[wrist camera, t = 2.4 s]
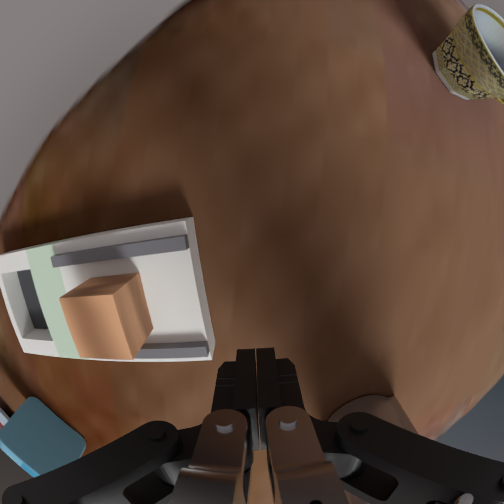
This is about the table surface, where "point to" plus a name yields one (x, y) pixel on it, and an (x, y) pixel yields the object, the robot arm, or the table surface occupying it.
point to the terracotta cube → (108, 316)
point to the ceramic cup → (473, 56)
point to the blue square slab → (39, 439)
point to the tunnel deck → (106, 264)
